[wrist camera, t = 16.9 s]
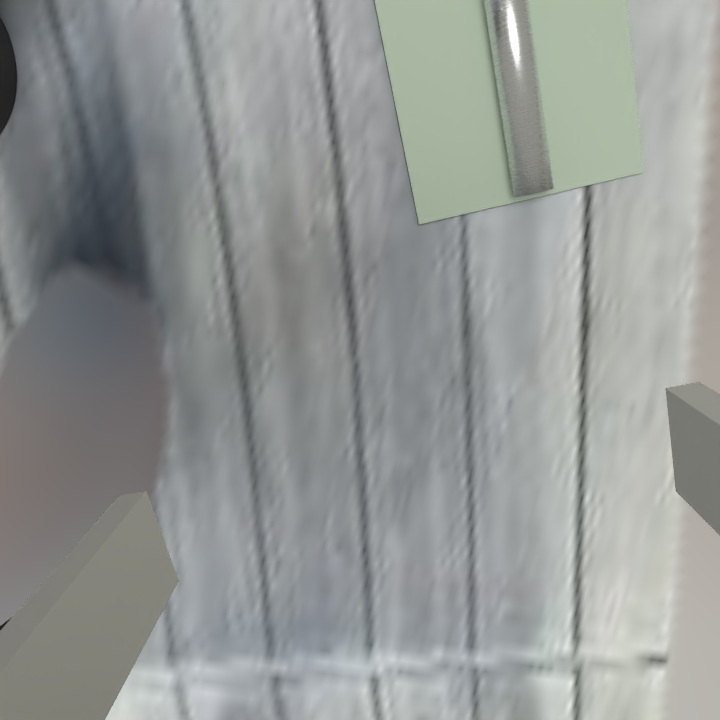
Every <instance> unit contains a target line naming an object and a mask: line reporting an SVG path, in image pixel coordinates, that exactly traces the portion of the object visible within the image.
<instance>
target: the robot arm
mask: <svg viewBox="0 0 720 720" xmlns="http://www.w3.org/2000/svg"><path fill="white" fill-rule="evenodd" d="M15 89H16V68H15V60H14V54H13V50H12V46H11V42H10V39H9V37H8V34H7V31H6V29H5V27H4V25H3V23H2V20H1V19H0V131H1V130H2V129H3V127H4V125H5V123H6V121H7V119H8V117H9V115H10V112H11V109H12V105H13V101H14V97H15ZM666 396H667V406H668V416H669V427H670V437H671V447H672V457H673V468H674V478H675V488H676V492H677V493H678V494H679V495H680V496H681V497H682V498H683V499H684V500H685V501H686V502H687V503H688V504H689V505H690V506H691V507H692V508H693V509H694V510H695V511H696V512H697V513H698V514H699V515H700V516H701V517H702V518H703V519H704V520H705V521H706V522H707V523H708V524H709V525H710V526H711V527H712V528H713V529H714V530H715V531H716V532H717V533H718V534H719V535H720V394H719V393H717V392H715V391H714V390H712V389H710V388H709V387H707V386H705V385H704V384H702V383H700V382H696V383H691V384H686V385H681V386H676V387H670V388H666ZM178 581H179V580H178V578H177V575H176V572H175V569H174V567H173V564H172V561H171V558H170V555H169V553H168V550H167V547H166V544H165V542H164V539H163V536H162V533H161V531H160V528H159V525H158V522H157V520H156V517H155V514H154V511H153V508H152V506H151V503H150V500H149V497H148V495H147V492H146V491H143V492H138V493H133V494H128V495H123V496H119V497H118V498H117V499H116V500H115V501H114V502H113V503H112V504H111V505H110V507H109V508H108V509H107V510H106V511H105V512H104V513H103V515H102V516H101V517H100V518H99V519H98V520H97V521H96V522H95V524H94V525H93V526H92V527H91V528H90V529H89V530H88V532H87V533H86V534H85V535H84V536H83V537H82V538H81V540H80V541H79V542H78V543H77V544H76V545H75V546H74V547H73V549H72V550H71V551H70V552H69V553H68V555H66V557H65V558H64V559H63V560H62V561H61V562H60V563H59V565H58V566H57V567H56V568H55V569H54V570H53V571H52V573H51V574H50V575H49V576H48V577H47V578H46V579H45V581H44V582H43V583H42V584H41V585H40V586H39V587H38V588H37V590H36V591H35V592H34V593H33V594H32V596H31V597H30V598H29V599H28V600H27V601H26V602H25V604H23V605H22V607H21V608H20V609H19V610H18V611H17V612H16V614H15V615H14V616H13V617H12V618H10V619H9V620H8V621H6V622H5V623H4V624H3V625H1V626H0V720H105V718H106V717H107V715H108V713H109V711H110V709H111V707H112V705H113V703H114V702H115V700H116V698H117V696H118V694H119V692H120V690H121V688H122V686H123V685H124V683H125V681H126V679H127V677H128V675H129V673H130V671H131V669H132V668H133V666H134V664H135V662H136V660H137V658H138V656H139V654H140V653H141V651H142V649H143V647H144V645H145V643H146V641H147V639H148V637H149V636H150V634H151V632H152V630H153V628H154V626H155V624H156V622H157V620H158V619H159V617H160V615H161V613H162V611H163V609H164V607H165V605H166V604H167V602H168V600H169V598H170V596H171V594H172V592H173V590H174V588H175V587H176V585H177V583H178Z"/></svg>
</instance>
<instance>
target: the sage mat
mask: <svg viewBox="0 0 720 720" xmlns="http://www.w3.org/2000/svg"><path fill="white" fill-rule="evenodd" d="M528 1H529V8H530V16H531V23H532V30H533V38H534V45H535V52H536V60H537V67H538V75H539V82H540V89H541V97H542V104H543V111H544V119H545V126H546V133H547V141H548V148H549V156H550V163H551V170H552V178H553V185H554V189H552V190H548V191H544V192H540V193H536V194H531V195H526V196H521V197H514V194H513V187H512V181H511V174H510V167H509V161H508V154H507V148H506V141H505V135H504V128H503V122H502V115H501V109H500V102H499V96H498V89H497V83H496V76H495V70H494V63H493V57H492V50H491V44H490V37H489V30H488V24H487V17H486V11H485V4H484V0H374V2H375V7H376V12H377V17H378V22H379V27H380V32H381V37H382V42H383V47H384V52H385V57H386V62H387V67H388V72H389V77H390V82H391V87H392V92H393V97H394V102H395V107H396V112H397V117H398V122H399V127H400V132H401V137H402V142H403V147H404V152H405V157H406V163H407V168H408V173H409V178H410V183H411V188H412V193H413V198H414V203H415V208H416V213H417V218H418V223H419V224H424V223H428V222H432V221H436V220H441V219H445V218H449V217H454V216H458V215H462V214H467V213H471V212H475V211H480V210H484V209H488V208H492V207H497V206H501V205H505V204H510V203H514V202H518V201H523V200H527V199H531V198H535V197H540V196H544V195H548V194H553V193H557V192H561V191H566V190H570V189H574V188H579V187H583V186H587V185H591V184H596V183H600V182H604V181H609V180H613V179H617V178H622V177H626V176H630V175H635V174H639V173H643V172H644V168H643V158H642V147H641V137H640V127H639V117H638V107H637V97H636V87H635V77H634V67H633V57H632V47H631V37H630V27H629V17H628V7H627V0H528Z"/></svg>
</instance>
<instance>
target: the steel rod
mask: <svg viewBox="0 0 720 720" xmlns="http://www.w3.org/2000/svg"><path fill="white" fill-rule="evenodd" d="M484 4H485V11H486V17H487V24H488V30H489V37H490V44H491V50H492V57H493V63H494V70H495V76H496V83H497V89H498V96H499V102H500V109H501V115H502V122H503V128H504V135H505V141H506V148H507V154H508V161H509V167H510V174H511V181H512V187H513V194H514V197H521V196H526V195H531V194H536V193H540V192H544V191H548V190H552V189H554V185H553V178H552V170H551V163H550V156H549V148H548V141H547V133H546V126H545V119H544V111H543V104H542V97H541V89H540V82H539V75H538V67H537V60H536V52H535V45H534V38H533V30H532V23H531V16H530V8H529V1H528V0H484Z"/></svg>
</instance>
